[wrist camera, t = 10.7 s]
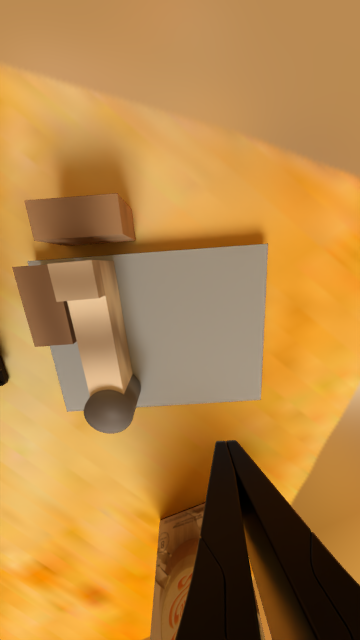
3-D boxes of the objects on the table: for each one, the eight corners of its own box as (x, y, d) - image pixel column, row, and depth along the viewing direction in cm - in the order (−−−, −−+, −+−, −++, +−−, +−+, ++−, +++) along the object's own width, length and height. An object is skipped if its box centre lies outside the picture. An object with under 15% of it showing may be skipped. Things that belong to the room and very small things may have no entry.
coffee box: (219, 494, 25) (281, 852, 10) (240, 524, 27) (323, 875, 11) (157, 519, 27) (127, 873, 11) (181, 547, 28) (184, 891, 13)
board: (72, 404, 22) (67, 411, 21) (35, 261, 18) (27, 261, 17) (257, 393, 21) (260, 399, 20) (263, 244, 17) (267, 243, 16)
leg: (143, 403, 20) (134, 439, 16) (104, 406, 20) (85, 443, 16) (121, 260, 17) (100, 259, 12) (73, 264, 17) (37, 264, 12)
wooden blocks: (63, 330, 19) (35, 346, 16) (36, 217, 17) (-7, 202, 13) (145, 324, 19) (137, 339, 15) (131, 209, 17) (117, 193, 13)
